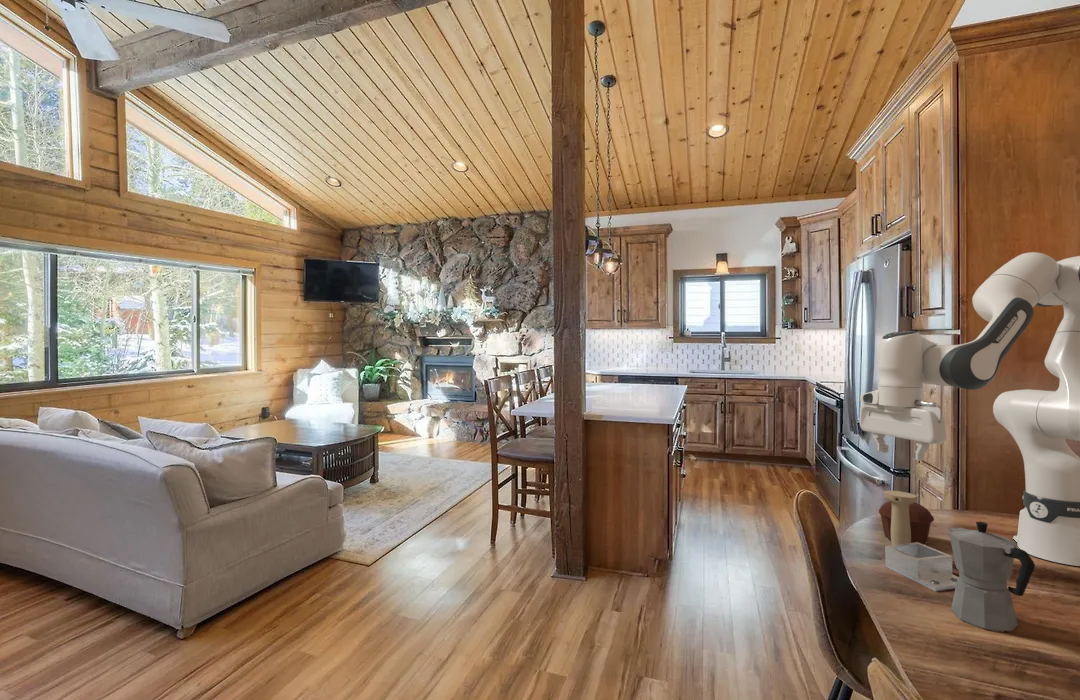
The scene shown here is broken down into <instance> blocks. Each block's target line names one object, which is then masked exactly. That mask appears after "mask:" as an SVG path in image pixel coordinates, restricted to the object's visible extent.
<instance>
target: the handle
mask: <svg viewBox="0 0 1080 700" xmlns="http://www.w3.org/2000/svg"><path fill="white" fill-rule="evenodd" d="M883 497H884V498H885V499H886V500H888V502H889V501H891V504H892V516H891V541H890V542H891V545H898V544H907V543H911V529H910V518H909V505H910V504H912V503H915V502H916V503H917V499H918V498H917V497H918V496H917V495H916V494H913V493H910V492H905V491H900V490H889V489H888V490H884V491H883Z"/></svg>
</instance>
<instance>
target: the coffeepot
mask: <svg viewBox="0 0 1080 700" xmlns="http://www.w3.org/2000/svg"><path fill="white" fill-rule="evenodd" d="M975 525H976V528H977V530H975V529H966V528H963V527H956V526H953V527H948V528H947V529H948V531H949V533H948V534H949V539H950V544H951V548H952V554H953V558H954V564H955V568H956V569H957V570H958V571H959V572H958V573H959V574H958V575H959V576H958V577H959V578H958V579H957V583H956V588H955V589H954V594H953V599H952V604H951V608H950V609H951V611H952V612H953V614H954V616H956V617H957V618H958V619H959V618H960V619H959V620H961V621H963V622H964V621H965V623H966V622H967V624H969V625H970V626H973V625H974V626H973V627H977V628H980V629H983V630H989V631H991V632H992V631H993V632H999V631H1001V633H1004V631H1007V632H1006V633H1008V632H1013V631H1014V630H1015V629H1016V627H1018V626H1019V625H1018V624H1019V623H1018V620H1017V615H1016V612H1015V607H1014V602H1013V600H1012V599H1013V598H1012V595H1011V593H1012V594H1013V595H1015V596H1019V597H1022V596H1024V595H1025V592H1026V589H1027V588H1028V584H1029V582H1030V579H1031V577H1032V575H1033V573H1034V571H1035V569H1036V567H1035V566H1036V564H1035V562H1034V560H1033V558H1031V555H1030V554H1028V553H1027V552H1026V551H1024V550H1021V549H1019V548H1018V547H1017V543H1016V542H1015V541H1014V540H1013V541H1012V540H1011V539H1009V538H1008V537H1006V536H1004V535H999V534H995V533H992V532H988V531H987V529H988V525H989V524H988V523H987V522H984V521H976V522H975ZM1015 559H1016V560H1019V562H1020V563H1021V566H1020V568H1019V575H1018V577H1017V578H1016V580H1015V581H1016V582H1015V583H1016V585H1015V587H1012V586H1008V581H1009V580H1010V579H1011V577H1012V570H1013V566H1014V561H1015Z"/></svg>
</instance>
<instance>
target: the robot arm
mask: <svg viewBox="0 0 1080 700" xmlns="http://www.w3.org/2000/svg"><path fill="white" fill-rule="evenodd" d="M971 298H972V299H971V300H972V307H973V308H974V311H975V312H976V314H977V315H979V316H980V317H981V318H982V319H983V320H985V321H986V322H988V323H987V324H986V325H985V327H984V328H983V330H982V331H981V332H980V333H979V335H978V336H977V337H976V338H975V339H974V340H971V341H969V342H966V343H961V344H938V343H935V342H933V341H931V340H929V339H927V338H925V337H923V336H922V335H921V334H920V332H919V331H917V330H903V331H894V332H890V333H886V334H884V335H883V336H882V337H881V339H880V342H879V345H878V352H877V369H878V372H879V379H878V382H877V389H876V390H873V391H869V392H865V393H863V394H860V398H859V399H860V402H861V403H862V404H861V405H860V408H859V427H860V428H861V430H862V431H863V432H867V433H872V435H873V436H872V437H873V439H874V441H875V443H876V445H877V447H876V448H877V452H879V453H884V454H885V453H889V445H888V444H886V441H885V439H884V438H886V436H889V437H894V438H900V439H905V440H909V441H915V444H916V446H917V448H916V450H915V451H913V452H911V455H912V457H911V459H912V460H913V461H918V462H923V461H924V460H925V453H926V452H927V451H928V449H929V448H930V445H939V444H943V443H944V442H945V441H946V440H947V430H946V423H945V419H944V409H943V408H942V407H941V406H940V405H939V404H938V403H936V402H934V401H925V400H924V384H927V385H936V386H942V387H943V386H945V387H953V388H958V389H964V390H969V391H971V390H975V391H976V390H981V388H985V387H986V386H987V385H989V384H990V383H991V382H992V380H994V378H995V377H996V375H997V373H998V370H999V368H1000V365H1001V364H1002V362H1003V360H1004V358H1005V356H1007V354H1008V353H1009V351H1011V349H1012V348H1013V346H1014V345H1015V344H1016V342H1017V341H1018V340H1019V338H1020V337H1021V336H1022V335H1023V334H1024V332H1025V331H1026V329H1027V328H1028V326H1029V325H1030V323H1031V321H1032V319H1033V317H1034V307H1043V308H1044V307H1045V308H1046V307H1047V308H1050V307H1053V306H1062V307H1063V318H1062V319H1061V321H1060V323H1059V325H1058V327H1057V329H1056V331H1055V334H1054V336H1053V338H1052V340H1051V343H1050V345H1049V348H1048V350H1047V353H1046V355H1045V357H1044V366H1045V368H1046V369H1047V371H1048V372H1049V373H1050V374H1052V375H1053V376H1054V377H1056V378H1058V379H1059V382H1058V383H1059V385H1058V388H1057V389H1056V390H1042V389H1028V388H1027V389H1025V388H1024V389H1015V390H1008V391H1004V392H1001V393H1000V394H999V395H998V396H997V397H996V398H995V400H994V402H993V406H992V412H993V416H994V418H995V420H996V422H997V423H998V424H1000V425H1001V426H1002V427H1004V428H1005V430H1007V431H1008V433H1010V435H1011V436H1012V438H1013V439H1014V441H1015V442H1016V444H1017V447H1018V448H1019V451H1020V454H1021V455H1022V460H1023V466H1024V479H1025V489H1024V490H1023V491H1022V492H1023V494H1022V504H1023V506H1024V508H1022V509H1021V510H1020V511H1019V517H1018V526H1017V527H1018V528H1017V535H1013V537H1012V540H1013V539H1014V540H1015V541H1016V542H1017V543H1016V542H1015V541H1014V540H1013V541H1014V542H1015V543H1016V544H1017V546H1018V547H1019V548H1020V549H1021V550H1024V551H1026V552H1027V554H1028V555H1029V556H1033V557H1036V558H1039V559H1041V560H1042V559H1043V560H1046V561H1050V562H1053V563H1059V564H1063V565H1068V566H1069V565H1070V566H1076V567H1080V456H1079V455H1077V454H1076V453H1075V452H1074V451H1073V450H1072V449H1071V447H1070V446H1069V445H1068V443H1067V441H1066V440H1072V441H1077V442H1078V441H1079V442H1080V255H1077V256H1072V257H1067V258H1063V259H1061V260H1057V261H1056V260H1055V259H1054V258H1053V257H1051V256H1049V255H1048V254H1045V253H1042V252H1036V251H1031V252H1023V253H1021V254H1019V255H1017V256H1015V257H1014V258H1012V259H1010V260H1009V261H1008V262H1006V263H1004V264H1003V265H1002V266H1001V267H999V268H998V269H997V270H995V271H994V272H993V273H992V274H990V276H989V277H987V278H986V279H985V280H984V282H983V283H981V285H979V286H978V288H977V289H976V290H975V292H974V294H973V296H972V297H971ZM1017 546H1016V547H1017ZM1018 547H1017V548H1018Z"/></svg>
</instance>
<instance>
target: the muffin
mask: <svg viewBox="0 0 1080 700" xmlns="http://www.w3.org/2000/svg"><path fill="white" fill-rule="evenodd" d="M878 514H879V515H880V518H881V523H882V524H881V525H882V529H883V534H884V538H886V537H887V538H888V539H887V538H886V539H887V540H889V542H891V516H892V504H891V501H889V500H888V501H887V502H884V503H883V504H882V505H881V506H880V508H879V509H878ZM909 518H910V529H911V543H915V542H919V543H921V544H925V545H926V544H927V543H928V539H929V533H930V528H931V523H933V522H934V521H935V518H934V516H933V515H932V513H931V512H930V511H929V510H928V508H927V507H925V506H923V505H922V504H920V503H918V502H917V501H916V502H915V503H912V504H910V505H909ZM926 542H927V543H926Z"/></svg>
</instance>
